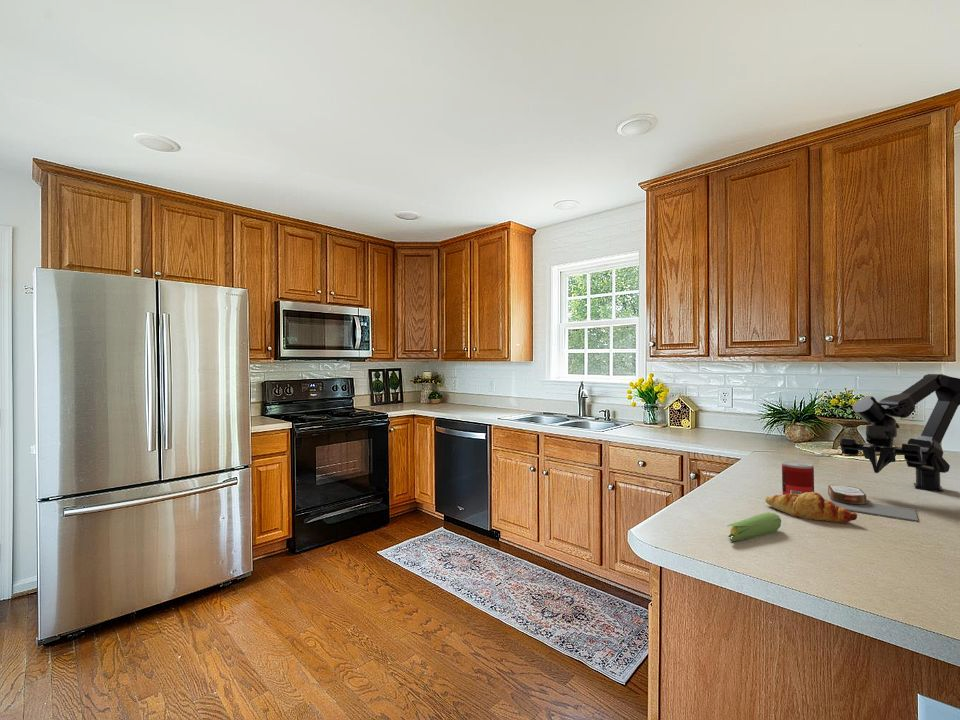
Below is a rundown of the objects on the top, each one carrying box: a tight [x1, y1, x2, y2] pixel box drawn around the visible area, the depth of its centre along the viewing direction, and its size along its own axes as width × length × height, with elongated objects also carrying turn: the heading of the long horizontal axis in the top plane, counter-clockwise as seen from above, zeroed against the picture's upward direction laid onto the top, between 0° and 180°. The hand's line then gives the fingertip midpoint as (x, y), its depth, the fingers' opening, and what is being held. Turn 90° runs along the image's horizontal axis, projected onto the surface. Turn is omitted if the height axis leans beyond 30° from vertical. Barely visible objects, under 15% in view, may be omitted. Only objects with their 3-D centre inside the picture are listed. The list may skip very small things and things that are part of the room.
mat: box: [831, 499, 919, 523], centre depth 127 cm, size 12×18×1 cm, turn 49°
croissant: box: [765, 491, 858, 523], centre depth 123 cm, size 21×10×8 cm, turn 38°
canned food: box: [781, 460, 815, 495], centre depth 137 cm, size 8×8×11 cm
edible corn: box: [727, 512, 782, 542], centre depth 109 cm, size 5×20×5 cm
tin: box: [827, 484, 868, 504], centre depth 136 cm, size 15×3×8 cm
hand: (875, 472), depth 136 cm, fingers closed
